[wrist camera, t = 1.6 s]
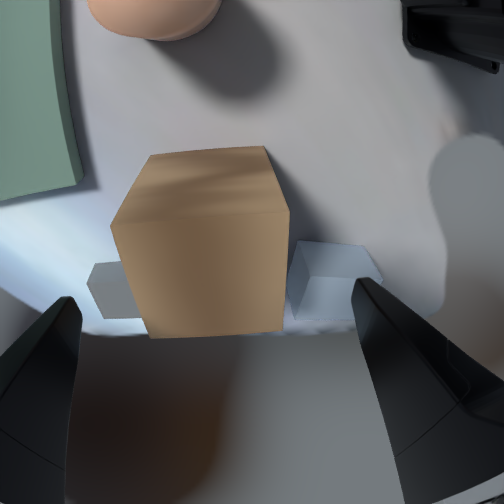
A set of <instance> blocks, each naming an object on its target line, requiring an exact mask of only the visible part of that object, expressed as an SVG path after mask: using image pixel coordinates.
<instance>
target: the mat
mask: <svg viewBox="0 0 504 504" xmlns="http://www.w3.org/2000/svg"><path fill="white" fill-rule="evenodd" d="M83 177H84V173H83V169H82V165H81V161H80V156H79V152H78V147H77V143H76V138H75V133H74V128H73V123H72V117H71V111H70V105H69V99H68V93H67V86H66V78H65V70H64V61H63V50H62V38H61V20H60V0H0V201H2V200H6V199H11V198H15V197H19V196H24V195H28V194H33V193H37V192H42V191H47V190H52V189H57V188H63V187H68V186H74V185H77V184H78V183H79V181H80V180H81V179H82V178H83Z"/></svg>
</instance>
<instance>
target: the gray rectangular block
mask: <svg viewBox="0 0 504 504" xmlns="http://www.w3.org/2000/svg"><path fill="white" fill-rule="evenodd" d="M87 285H88V288H89V290H90V292H91V294H92V296H93V298H94V300H95V302H96V304H97V306H98V308H99V310H100V312H101V314H102V316H103V318H104V319H123V318H142V317H141V314H140V312H139V309H138V307H137V304H136V302H135V299H134V296H133V293H132V291H131V288H130V285H129V283H128V280H127V277H126V274H125V271H124V268H123V265H122V262H121V261H119V262H107V263H95V265H94V267H93V270H92V272H91V274H90V276H89V279H88V281H87Z"/></svg>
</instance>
